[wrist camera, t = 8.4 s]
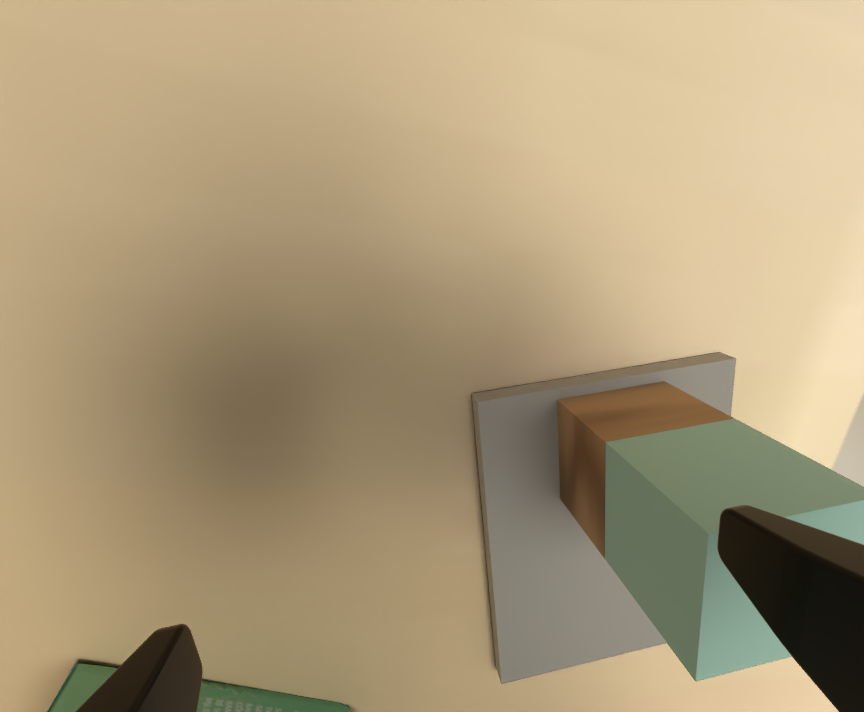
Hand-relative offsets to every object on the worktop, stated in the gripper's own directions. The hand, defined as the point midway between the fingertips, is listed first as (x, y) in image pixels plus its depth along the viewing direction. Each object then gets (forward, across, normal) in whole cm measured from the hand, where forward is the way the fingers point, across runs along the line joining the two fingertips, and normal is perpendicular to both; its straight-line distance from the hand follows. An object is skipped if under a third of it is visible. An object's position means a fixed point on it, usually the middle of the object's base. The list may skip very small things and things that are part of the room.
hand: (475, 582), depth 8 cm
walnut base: (+12, -9, +5) cm, 15 cm away
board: (+12, -9, +10) cm, 18 cm away
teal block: (+8, -9, +5) cm, 13 cm away
